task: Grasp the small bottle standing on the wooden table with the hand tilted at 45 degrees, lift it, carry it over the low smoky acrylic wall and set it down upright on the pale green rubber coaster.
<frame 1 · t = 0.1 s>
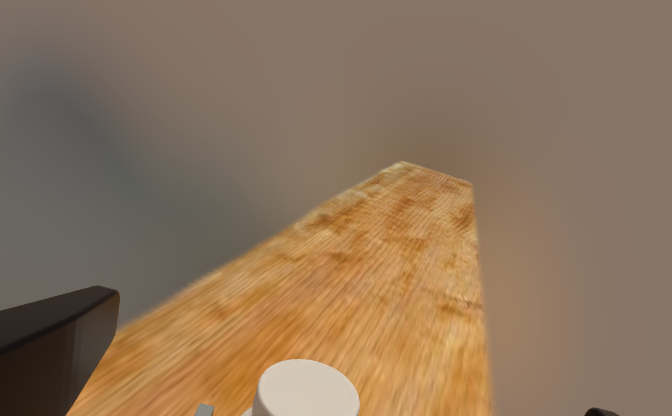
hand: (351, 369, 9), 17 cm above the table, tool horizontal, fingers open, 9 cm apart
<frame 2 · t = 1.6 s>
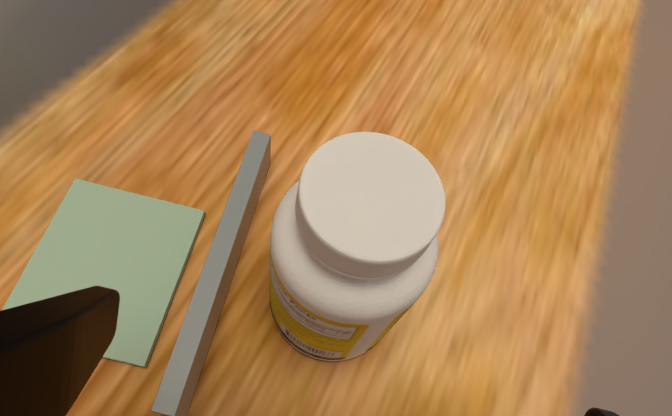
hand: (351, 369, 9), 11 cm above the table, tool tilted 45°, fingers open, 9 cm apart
coaster: (109, 268, 21), on the table
acrylic wall: (224, 273, 21), on the table
supplement bottle: (329, 301, 21), on the table
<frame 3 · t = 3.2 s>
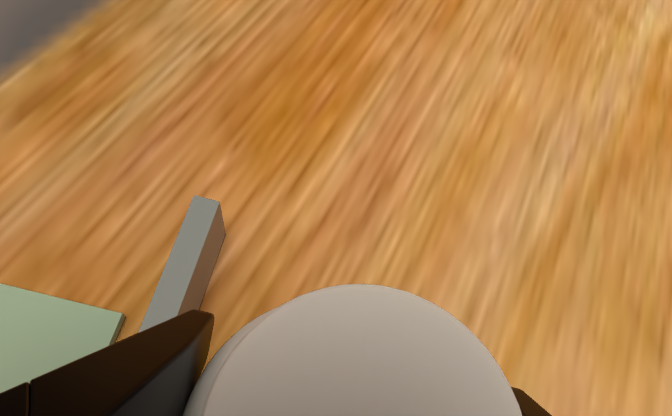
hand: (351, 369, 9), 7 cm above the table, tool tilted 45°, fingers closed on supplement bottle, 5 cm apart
acrylic wall: (147, 413, 14), on the table
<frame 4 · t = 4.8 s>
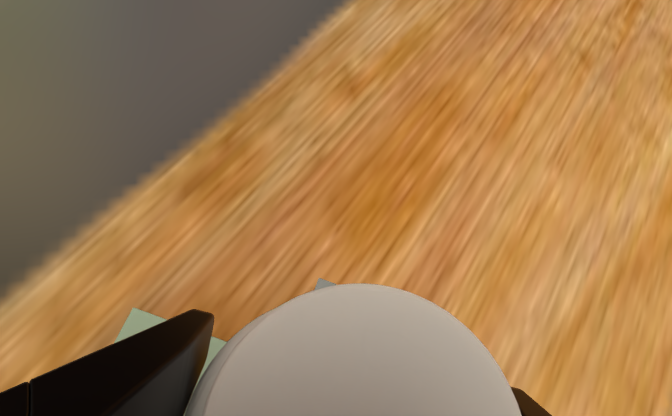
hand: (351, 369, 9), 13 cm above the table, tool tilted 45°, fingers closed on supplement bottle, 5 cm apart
coaster: (160, 412, 20), on the table
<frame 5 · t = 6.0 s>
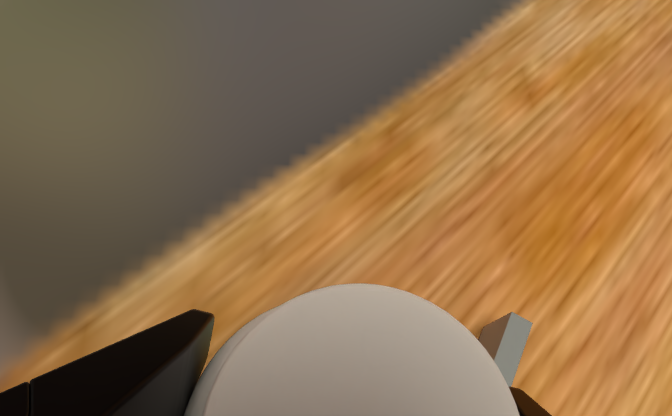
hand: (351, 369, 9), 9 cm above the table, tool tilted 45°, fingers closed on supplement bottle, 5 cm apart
when the fingers open (8 cm above the table, at t = 6.6 s): supplement bottle drops 1 cm, resting on coaster.
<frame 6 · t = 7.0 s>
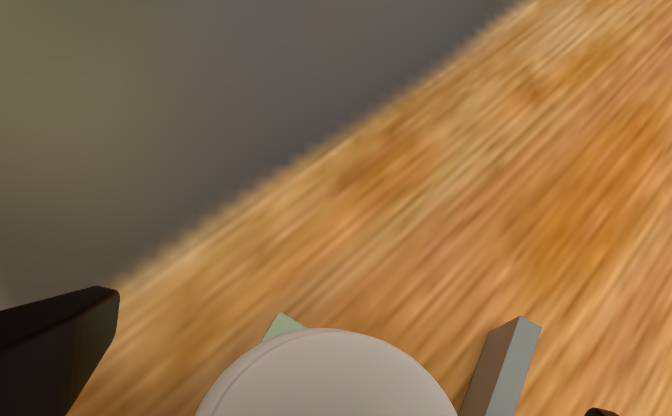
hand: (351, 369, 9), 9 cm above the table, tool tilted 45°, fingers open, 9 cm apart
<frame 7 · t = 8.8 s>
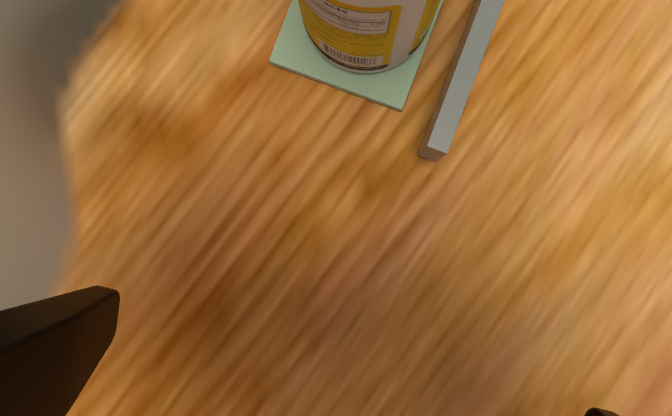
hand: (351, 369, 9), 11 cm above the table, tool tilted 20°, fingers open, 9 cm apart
coaster: (364, 12, 21), on the table
acrylic wall: (475, 27, 21), on the table
supplement bottle: (365, 14, 21), resting on coaster
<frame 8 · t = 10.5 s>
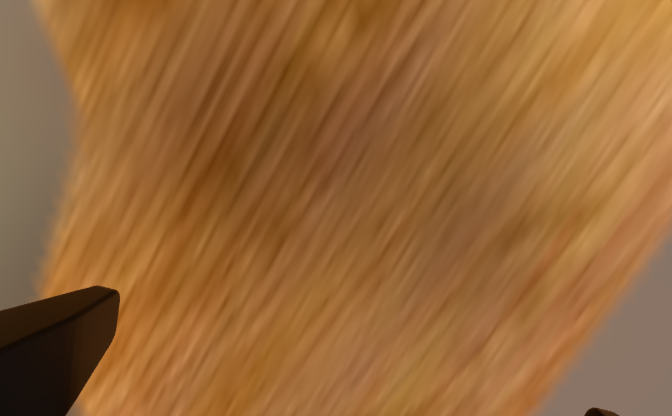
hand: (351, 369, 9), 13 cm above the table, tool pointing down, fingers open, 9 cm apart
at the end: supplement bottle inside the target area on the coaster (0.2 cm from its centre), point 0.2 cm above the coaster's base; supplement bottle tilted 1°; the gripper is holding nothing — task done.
